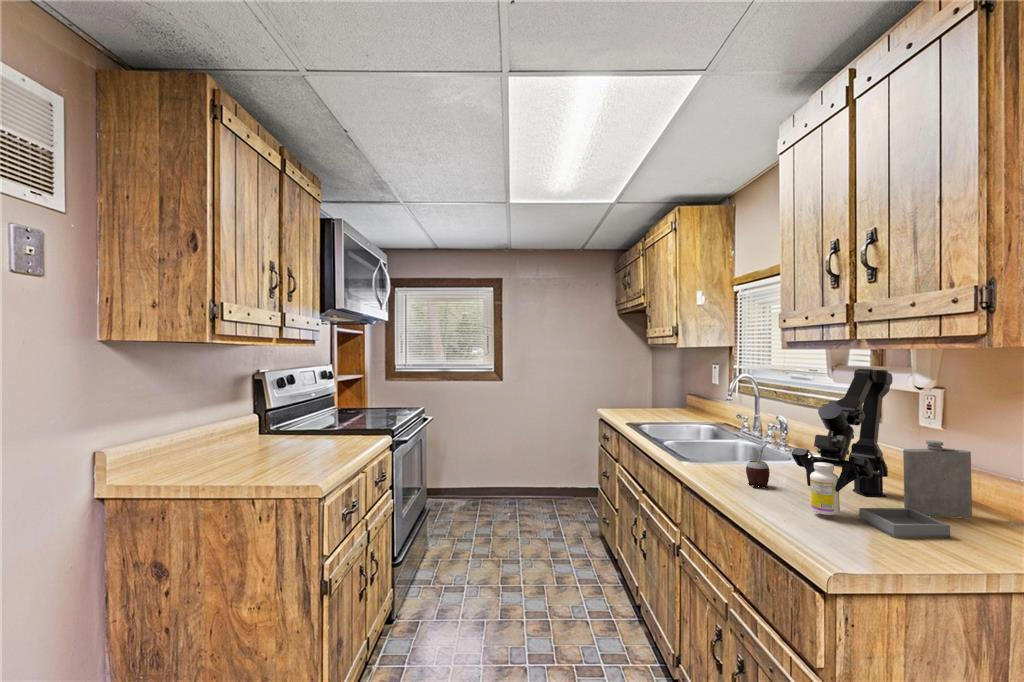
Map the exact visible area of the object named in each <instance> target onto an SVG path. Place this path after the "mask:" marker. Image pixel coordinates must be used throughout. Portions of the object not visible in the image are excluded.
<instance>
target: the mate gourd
mask: <svg viewBox="0 0 1024 682" xmlns="http://www.w3.org/2000/svg"><path fill="white" fill-rule="evenodd" d="M766 446H767V443H766V444H764V445H762V447H761V448H760V450H759V453H758V454H759V455H758V460H757V459H756V460H755V459H754V460H749V461H748V462H747V463H746V467H745V473H746V478H747V481H748V483H747V485H748V484H749V485H748V486H751V485H754V486H752V489H757V488H756V487H758V486H759V487H758V488H761V487H765V488H764V489H767V488H768V489H769V487H768V484H769V480H770V468H769V464H768V463H767V462H765V461H762V460H761V458H762V453H763V452H764V448H765V447H766Z"/></svg>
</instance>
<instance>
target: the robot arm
mask: <svg viewBox="0 0 1024 682" xmlns="http://www.w3.org/2000/svg"><path fill="white" fill-rule="evenodd" d="M853 372H854V374H853V378H852V381H851V383H850V385H849V386H848V388H847V390H846V393H845V396H844V397H842V398H840V399H838V400H829V401H828V403H825V404H823V405H822V406H820V407H818V410H817V413H818V416H819V418H820V420H821V422H822V424H823V425H824V428H825V429H826V430H828V432H827V435H822V434H815V437H814V443H813V446H814V447H815V448H817V450H816V451H817V453H818V454H820V455H815V454H812V453H811V450H810V449H807V448H801V447H800V448H798V447H795V448H793V450H792V452H791V456H792V458H793V460H794V462H795V463H796V465H797V466H798V467H800V468H804V469H805V472H806V474H805V475H806V482H807V483H806V484H807V487H810V475H811V473H813V472H815V469H814V463H816V462H824V463H830V464H833V465H834V467H838V468H841V472H840V475H839V476H838V478H839V479H838V482H837V484H836V489H835V490H836V492H839V493H840V491H841V490H843V488H845V487H846V486H847V485H849V484H850V483H852V482H854V484H853V485H854V486H853V487H854V488H853V489H852V492H855V493H857V494H858V495H862V496H863V497H887V494H885V493H884V485H883V482H884V481H883V478H884V477H885V478H888V477H889V471H888V470H889V468H888V466H887V463H886V461H885V459H884V457H883V456H884V453H883V451H882V450H881V447H880V446H879V444H878V441H879V431H880V423H881V422H880V421H881V412H882V402H883V398H884V397H885V396H886V395H887V394H888V393H889V392H890V388H891V385H892V384H893V381H894V380H893V375H892V373H890V372H888V369H873V368H858V369H855V370H854V371H853ZM852 426H857V427H858V426H860V429H859V430H860V431H859V438H858V440H857V441H856V442H852V440H854V439H855V434H854V433H855V430H854V428H853V427H852ZM851 442H852V444H851ZM850 445H851V446H850ZM850 447H851V449H849V448H850ZM847 455H848V460H847V459H846V458H847Z"/></svg>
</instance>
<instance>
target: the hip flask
mask: <svg viewBox="0 0 1024 682" xmlns="http://www.w3.org/2000/svg"><path fill="white" fill-rule="evenodd" d="M925 444H926V445H927V446H926V447H927V448H907V449H906V448H905V449H903V450H902V453H903V456H902V457H903V493H904V494H903V496H904V497H903V499H904V503H903V504H904V507H903V508H911V509H913V510H915V511H918V512H920V513H922V514H925V515H927V516H930V517H931V516H932V518H951V517H961V518H960V519H966V518H971V519H973V492H972V490H973V489H972V485H973V483H972V452H971V451H970V450H964V449H963V450H962V449H955V448H947V447H946V448H945V447H944V448H943V446H944V441H942V440H941V441H940V440H931V439H929V440H926V441H925Z"/></svg>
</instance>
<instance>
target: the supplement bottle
mask: <svg viewBox="0 0 1024 682" xmlns="http://www.w3.org/2000/svg"><path fill="white" fill-rule="evenodd" d="M814 469H815V472H813V473H811V475H810V486H809V487H810V488H809V489H810V507H811V510H812V511H813V512H814V513H818V514H821V515H825V516H827V515H828V516H833V515H837V514H840V512H841V511H840V510H841V509H840V505H841V504H840V491H839V492H836V490H835V489H836V484H837V482H838V479H839V476H838V475H837V474H836V473H834V470H835V466H834V465H833V464H830V463H824V462H816V463H814Z"/></svg>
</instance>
